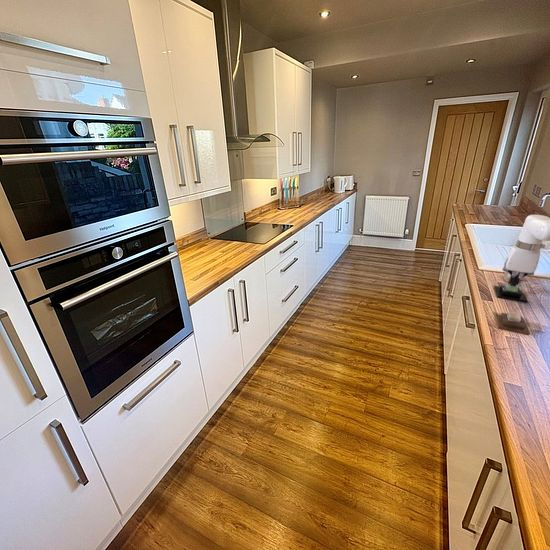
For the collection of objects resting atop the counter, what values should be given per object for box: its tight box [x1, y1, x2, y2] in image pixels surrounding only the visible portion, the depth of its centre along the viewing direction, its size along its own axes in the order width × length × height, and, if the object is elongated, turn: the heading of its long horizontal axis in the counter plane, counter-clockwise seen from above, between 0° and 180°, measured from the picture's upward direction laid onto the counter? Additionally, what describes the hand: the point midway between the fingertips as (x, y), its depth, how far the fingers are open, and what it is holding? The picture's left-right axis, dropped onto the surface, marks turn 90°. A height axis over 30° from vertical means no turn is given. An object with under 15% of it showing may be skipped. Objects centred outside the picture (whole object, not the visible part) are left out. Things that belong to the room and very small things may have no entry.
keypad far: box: [493, 284, 527, 304], centre depth 128 cm, size 10×10×3 cm
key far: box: [505, 283, 519, 292], centre depth 127 cm, size 4×4×2 cm
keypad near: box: [494, 312, 531, 336], centre depth 108 cm, size 9×9×3 cm
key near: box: [506, 312, 521, 323], centre depth 107 cm, size 3×3×2 cm
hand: (512, 284), depth 127 cm, fingers closed
